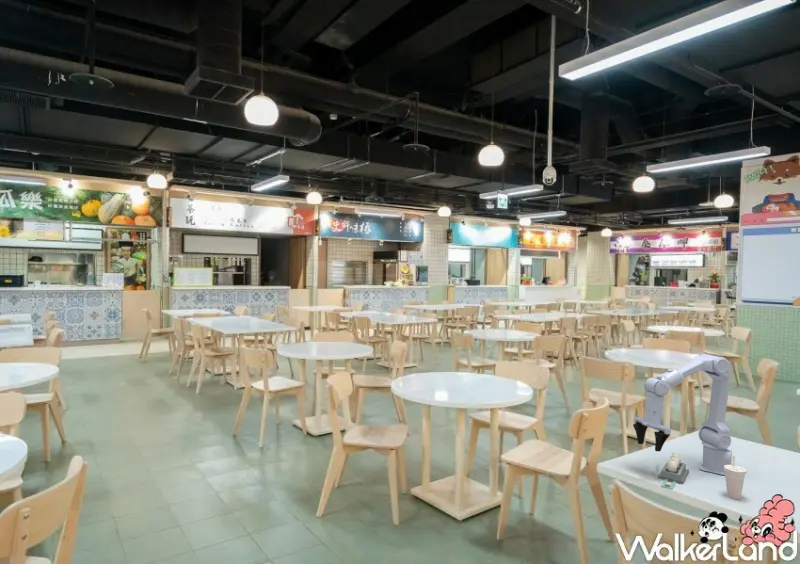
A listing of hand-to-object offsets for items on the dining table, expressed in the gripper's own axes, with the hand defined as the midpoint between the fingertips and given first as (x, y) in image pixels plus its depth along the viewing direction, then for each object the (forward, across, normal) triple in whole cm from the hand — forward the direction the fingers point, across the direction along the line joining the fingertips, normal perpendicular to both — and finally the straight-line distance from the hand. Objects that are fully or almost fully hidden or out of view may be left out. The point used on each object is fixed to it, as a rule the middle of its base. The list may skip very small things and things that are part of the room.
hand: (649, 447), depth 186 cm
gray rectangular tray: (+9, +4, +9) cm, 14 cm away
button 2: (+6, +2, +13) cm, 14 cm away
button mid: (+7, +4, +9) cm, 12 cm away
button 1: (+7, +6, +5) cm, 11 cm away
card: (+10, +10, 0) cm, 14 cm away
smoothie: (+9, +24, +12) cm, 29 cm away
